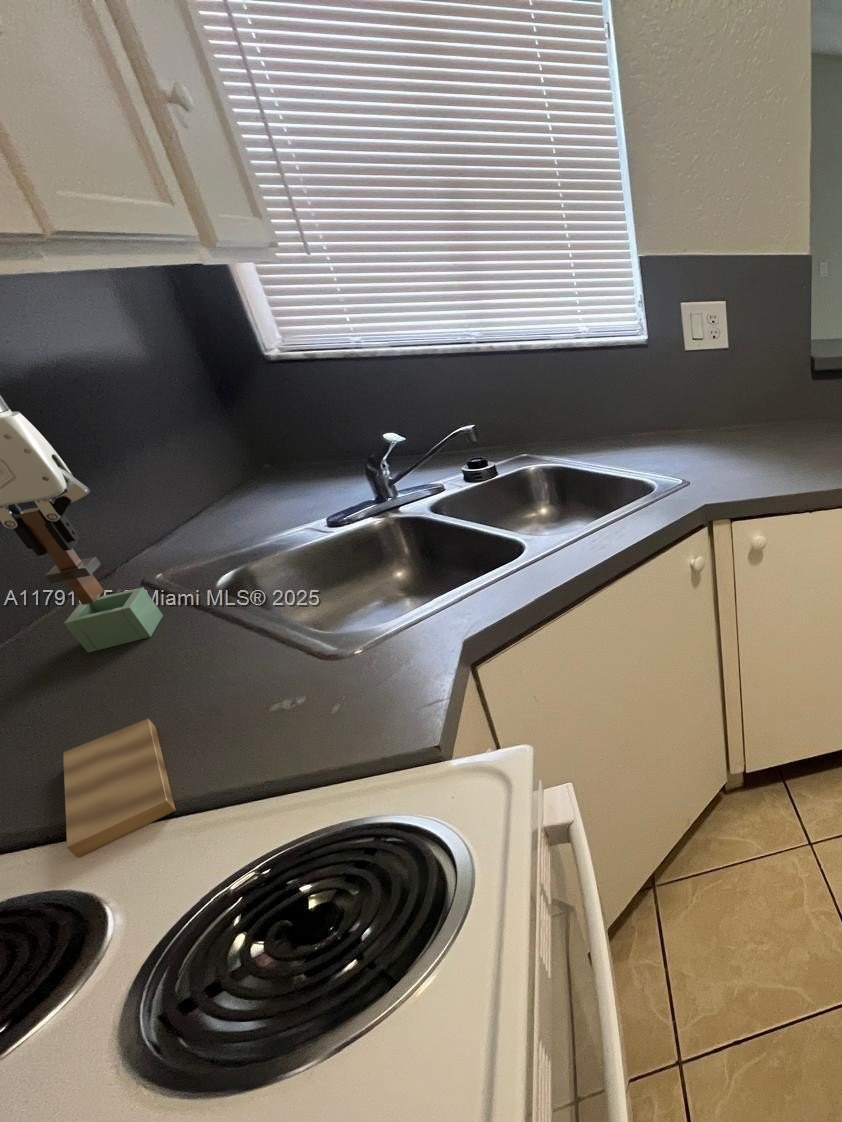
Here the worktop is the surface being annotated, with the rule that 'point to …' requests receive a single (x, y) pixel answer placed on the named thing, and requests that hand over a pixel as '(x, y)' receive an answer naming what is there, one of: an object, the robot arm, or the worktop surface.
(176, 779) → the worktop surface
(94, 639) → the green open box
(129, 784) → the board
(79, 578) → the brown piece
